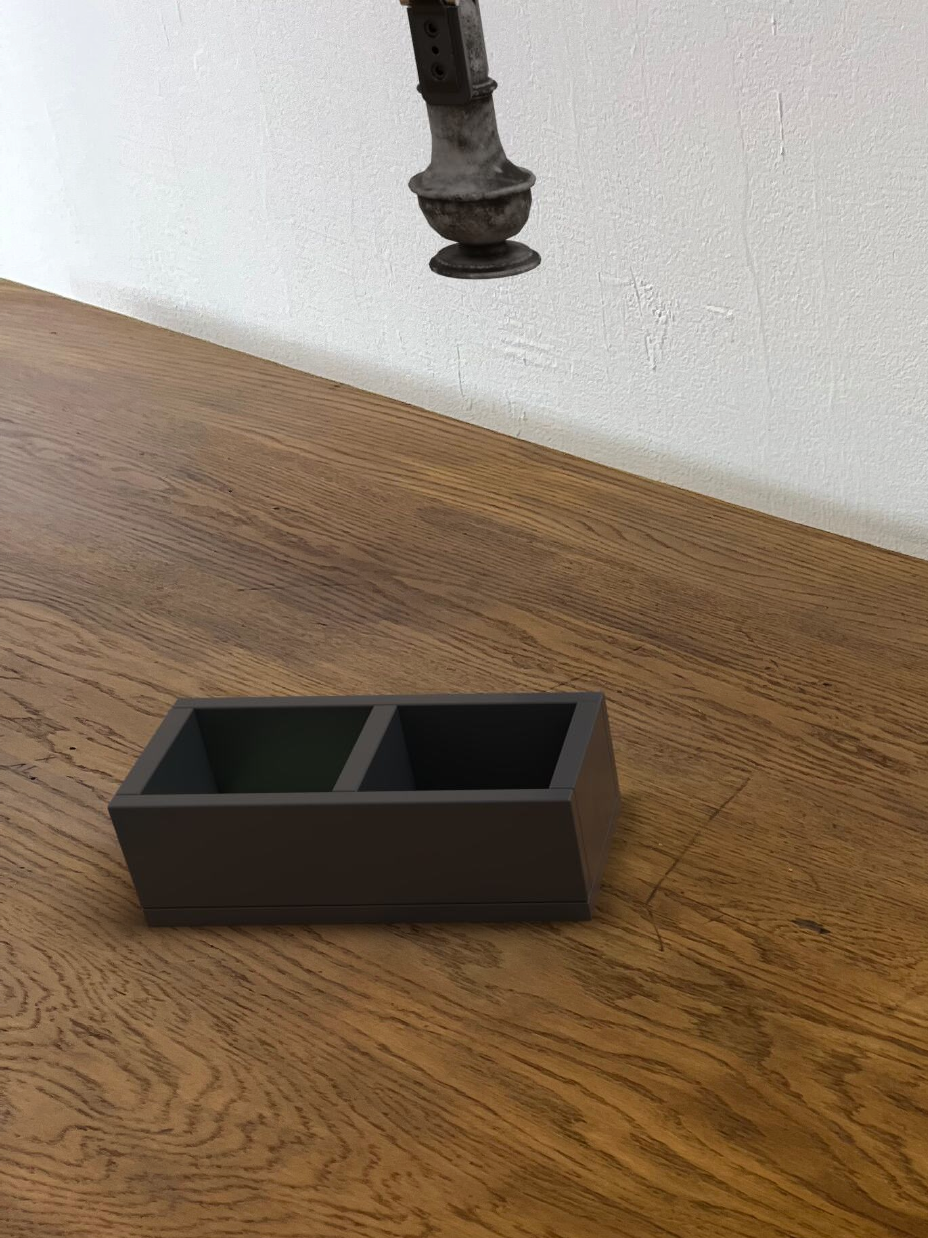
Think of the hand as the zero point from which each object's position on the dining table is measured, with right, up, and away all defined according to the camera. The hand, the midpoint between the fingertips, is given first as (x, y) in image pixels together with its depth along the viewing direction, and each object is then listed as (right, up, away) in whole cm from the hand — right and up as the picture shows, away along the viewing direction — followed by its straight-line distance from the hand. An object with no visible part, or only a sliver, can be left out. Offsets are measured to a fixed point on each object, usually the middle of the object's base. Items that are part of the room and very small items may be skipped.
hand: (456, 90), depth 94 cm
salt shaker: (0, -5, +5) cm, 7 cm away
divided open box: (-1, -37, -7) cm, 38 cm away
